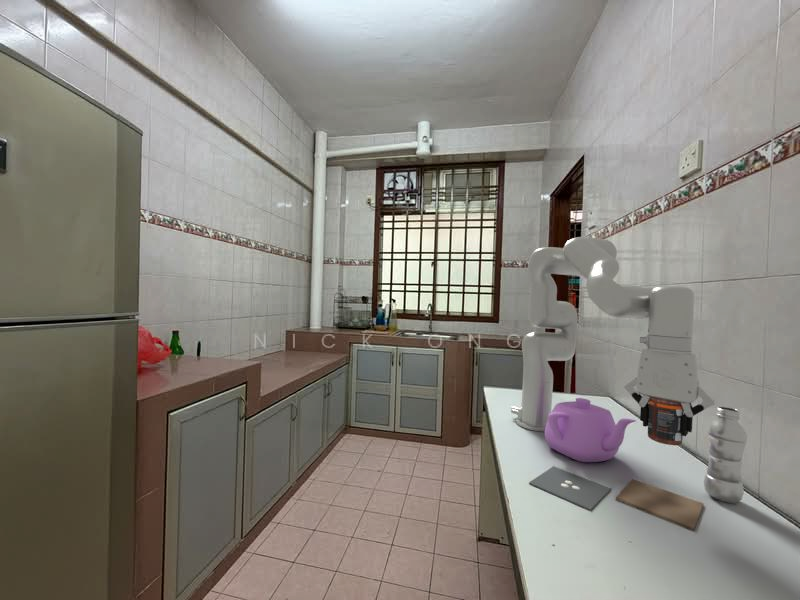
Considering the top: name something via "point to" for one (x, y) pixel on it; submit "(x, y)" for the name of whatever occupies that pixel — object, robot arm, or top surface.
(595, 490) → the dot mat
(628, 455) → the top surface
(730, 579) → the top surface
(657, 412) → the supplement bottle
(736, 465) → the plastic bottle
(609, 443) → the teapot
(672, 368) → the robot arm
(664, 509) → the walnut board
